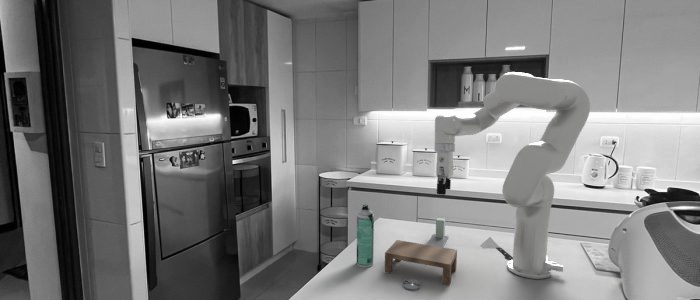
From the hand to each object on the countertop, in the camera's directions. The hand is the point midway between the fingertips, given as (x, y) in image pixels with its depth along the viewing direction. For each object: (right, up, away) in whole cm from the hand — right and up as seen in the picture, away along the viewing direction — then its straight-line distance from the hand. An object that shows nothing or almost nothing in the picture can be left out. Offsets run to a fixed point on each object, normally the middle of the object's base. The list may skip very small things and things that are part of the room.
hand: (443, 191), depth 145 cm
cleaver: (+15, -20, -3) cm, 26 cm away
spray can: (-31, -22, -21) cm, 44 cm away
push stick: (-5, -20, -7) cm, 22 cm away
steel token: (-19, -24, -36) cm, 47 cm away
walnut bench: (-14, -22, -26) cm, 37 cm away
